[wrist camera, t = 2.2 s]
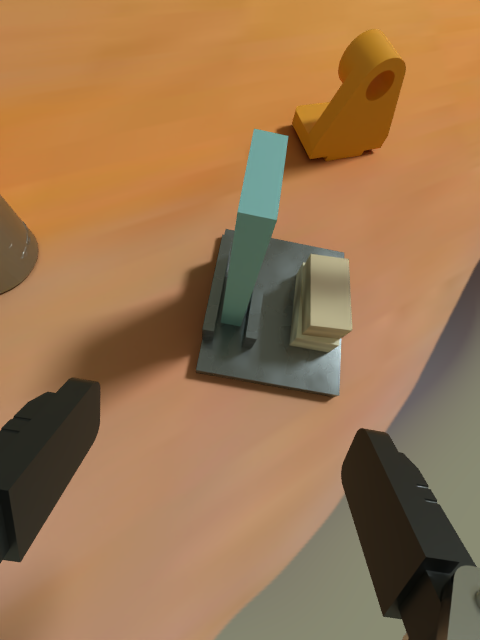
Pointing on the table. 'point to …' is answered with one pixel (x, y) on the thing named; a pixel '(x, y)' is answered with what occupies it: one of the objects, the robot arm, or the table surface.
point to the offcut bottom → (296, 325)
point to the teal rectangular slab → (254, 221)
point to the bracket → (355, 102)
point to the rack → (266, 327)
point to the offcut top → (326, 297)
